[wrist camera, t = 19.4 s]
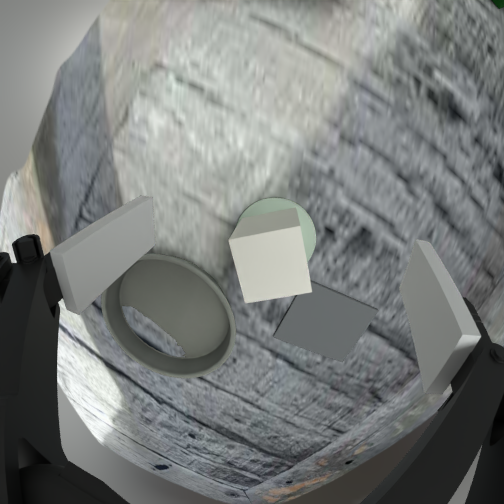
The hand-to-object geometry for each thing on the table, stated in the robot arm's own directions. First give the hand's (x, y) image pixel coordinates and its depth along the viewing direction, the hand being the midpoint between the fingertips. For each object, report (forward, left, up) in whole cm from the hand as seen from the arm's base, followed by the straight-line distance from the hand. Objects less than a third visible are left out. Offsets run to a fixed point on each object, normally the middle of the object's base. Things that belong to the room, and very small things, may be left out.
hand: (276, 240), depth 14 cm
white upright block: (+3, -8, -29) cm, 30 cm away
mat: (+17, -18, -30) cm, 39 cm away
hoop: (-8, -28, -30) cm, 42 cm away
